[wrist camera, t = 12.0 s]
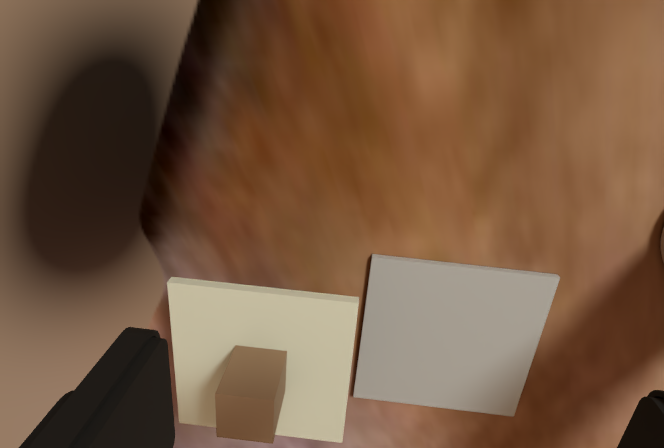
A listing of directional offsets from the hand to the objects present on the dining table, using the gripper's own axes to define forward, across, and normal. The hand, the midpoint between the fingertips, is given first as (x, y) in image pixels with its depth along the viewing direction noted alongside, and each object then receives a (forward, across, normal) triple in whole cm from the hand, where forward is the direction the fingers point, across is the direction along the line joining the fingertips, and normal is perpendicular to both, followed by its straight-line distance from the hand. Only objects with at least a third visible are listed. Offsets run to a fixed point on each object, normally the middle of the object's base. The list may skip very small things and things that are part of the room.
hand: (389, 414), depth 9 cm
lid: (+21, +7, +18) cm, 29 cm away
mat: (+28, -9, +19) cm, 35 cm away
